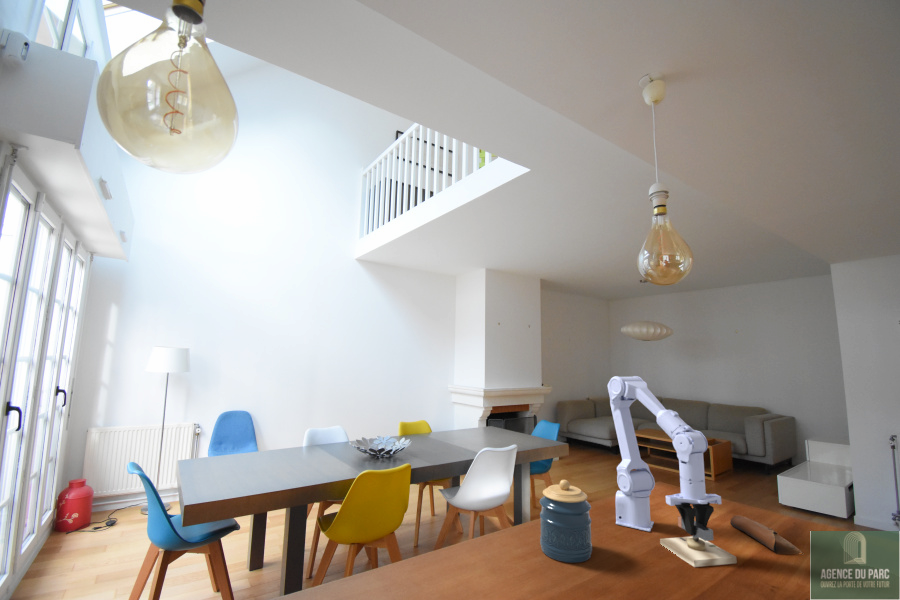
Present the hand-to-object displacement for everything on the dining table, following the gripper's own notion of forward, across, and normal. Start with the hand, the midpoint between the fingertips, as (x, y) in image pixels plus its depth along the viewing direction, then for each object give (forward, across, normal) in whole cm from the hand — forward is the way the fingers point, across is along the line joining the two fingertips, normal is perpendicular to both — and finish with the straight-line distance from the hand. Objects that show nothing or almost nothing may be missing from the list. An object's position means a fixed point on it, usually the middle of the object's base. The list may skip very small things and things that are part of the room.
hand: (695, 533), depth 107 cm
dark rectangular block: (+2, 0, 0) cm, 2 cm away
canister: (+5, -34, +4) cm, 34 cm away
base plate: (+5, 0, 0) cm, 5 cm away
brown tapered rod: (+6, +26, +6) cm, 27 cm away
